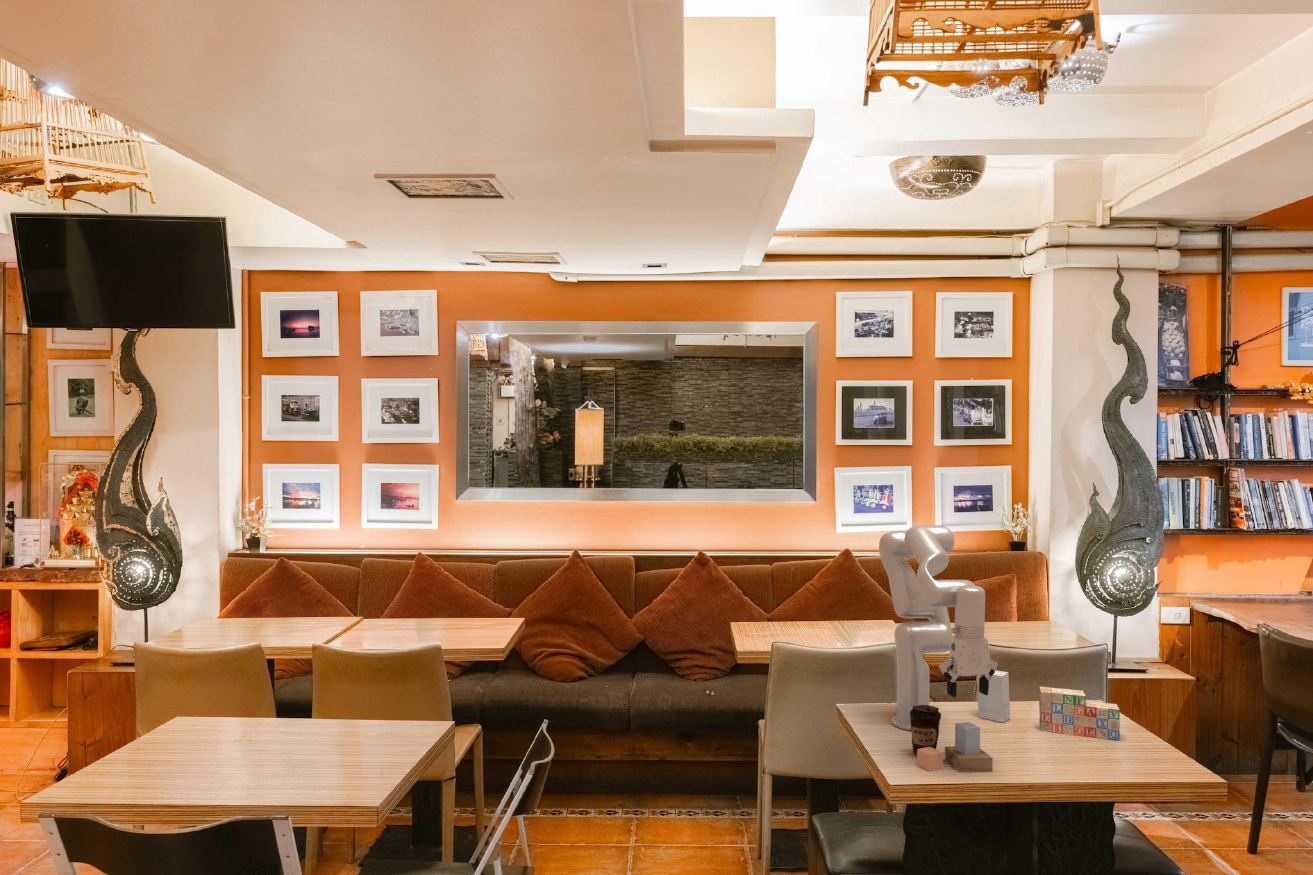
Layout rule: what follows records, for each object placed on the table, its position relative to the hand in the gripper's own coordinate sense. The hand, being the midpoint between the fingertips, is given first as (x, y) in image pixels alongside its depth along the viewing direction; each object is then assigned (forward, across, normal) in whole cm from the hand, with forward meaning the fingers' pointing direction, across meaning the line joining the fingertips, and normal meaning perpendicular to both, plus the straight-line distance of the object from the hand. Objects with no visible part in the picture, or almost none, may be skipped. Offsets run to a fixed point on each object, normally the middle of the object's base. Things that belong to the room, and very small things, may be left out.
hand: (967, 694), depth 228 cm
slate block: (+15, 0, -1) cm, 15 cm away
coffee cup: (+19, -7, +8) cm, 22 cm away
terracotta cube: (+19, -11, 0) cm, 22 cm away
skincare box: (+20, +32, +33) cm, 50 cm away
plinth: (+19, 0, -1) cm, 19 cm away
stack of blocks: (+20, +49, +16) cm, 55 cm away
